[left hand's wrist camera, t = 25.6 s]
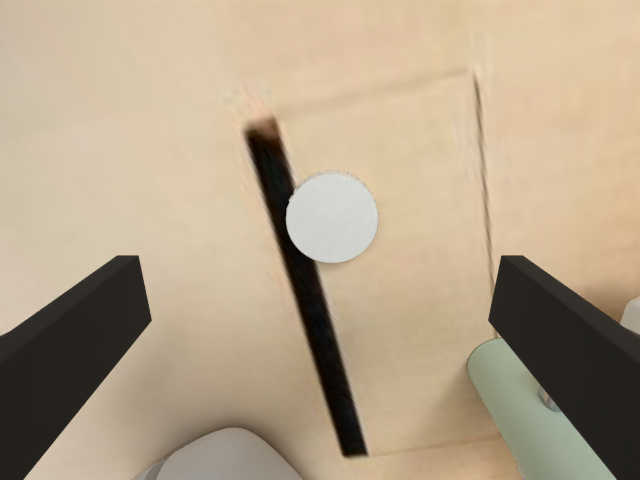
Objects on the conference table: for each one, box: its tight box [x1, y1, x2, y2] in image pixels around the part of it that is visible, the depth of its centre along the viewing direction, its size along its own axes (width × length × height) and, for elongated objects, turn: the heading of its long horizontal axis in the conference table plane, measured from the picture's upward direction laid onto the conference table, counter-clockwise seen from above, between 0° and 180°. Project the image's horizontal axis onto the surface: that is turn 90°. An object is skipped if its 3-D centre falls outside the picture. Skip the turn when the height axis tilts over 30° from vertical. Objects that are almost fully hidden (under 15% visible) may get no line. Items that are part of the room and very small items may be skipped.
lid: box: [286, 169, 378, 263], centre depth 24 cm, size 6×6×2 cm
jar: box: [467, 338, 617, 480], centre depth 21 cm, size 5×5×17 cm
